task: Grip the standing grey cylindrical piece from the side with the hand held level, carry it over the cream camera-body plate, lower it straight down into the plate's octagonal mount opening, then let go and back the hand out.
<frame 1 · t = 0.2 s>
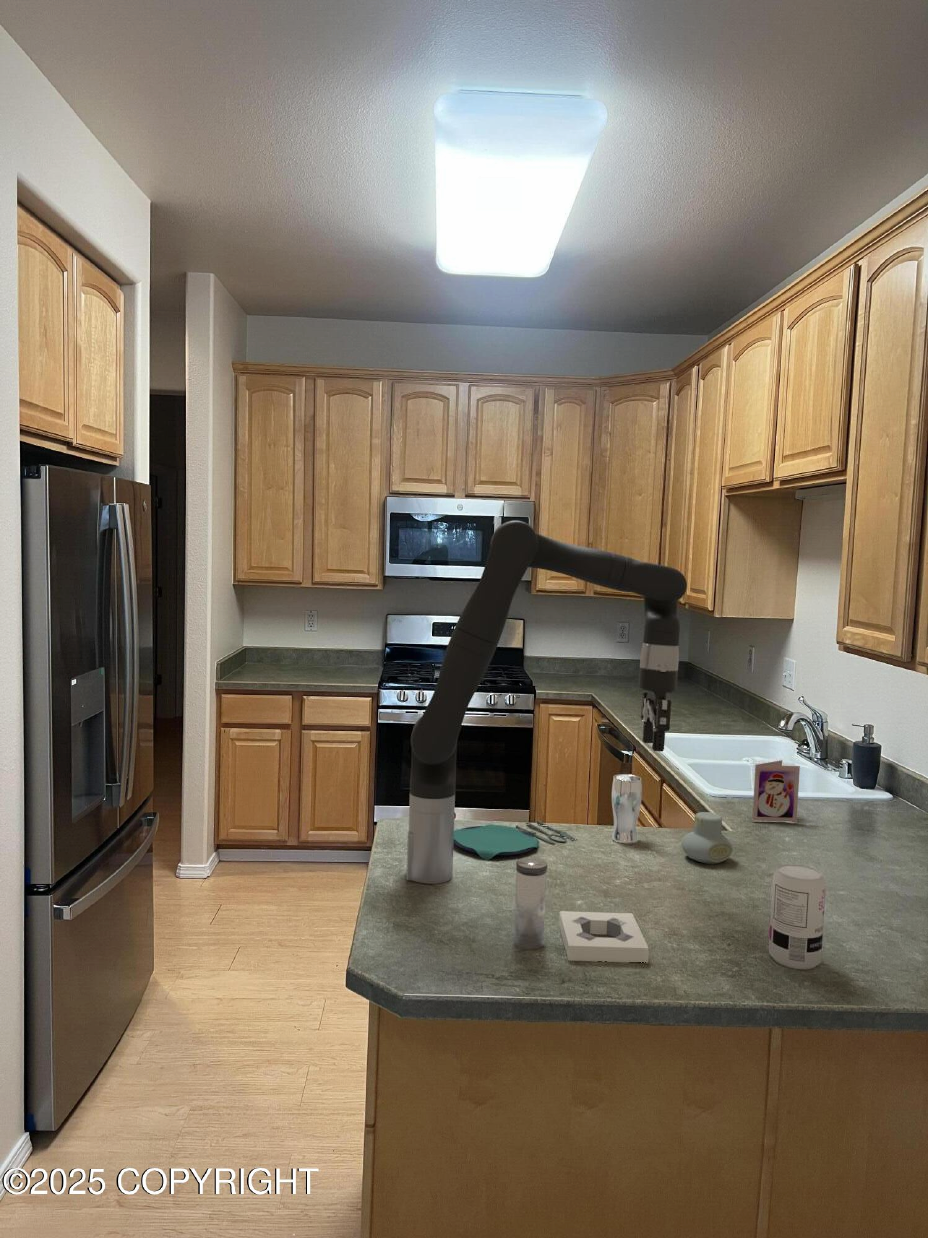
hand: (652, 746, 174), 28 cm above the counter, tool pointing down, fingers open, 8 cm apart
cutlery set: (511, 844, 201), on the counter
grey cylindrical piece: (528, 943, 147), on the counter
air freshener: (706, 860, 193), on the counter
beer glass: (624, 840, 205), on the counter
mount plate: (601, 943, 148), on the counter
supplement can: (794, 961, 144), on the counter
greeting card: (770, 820, 226), on the counter
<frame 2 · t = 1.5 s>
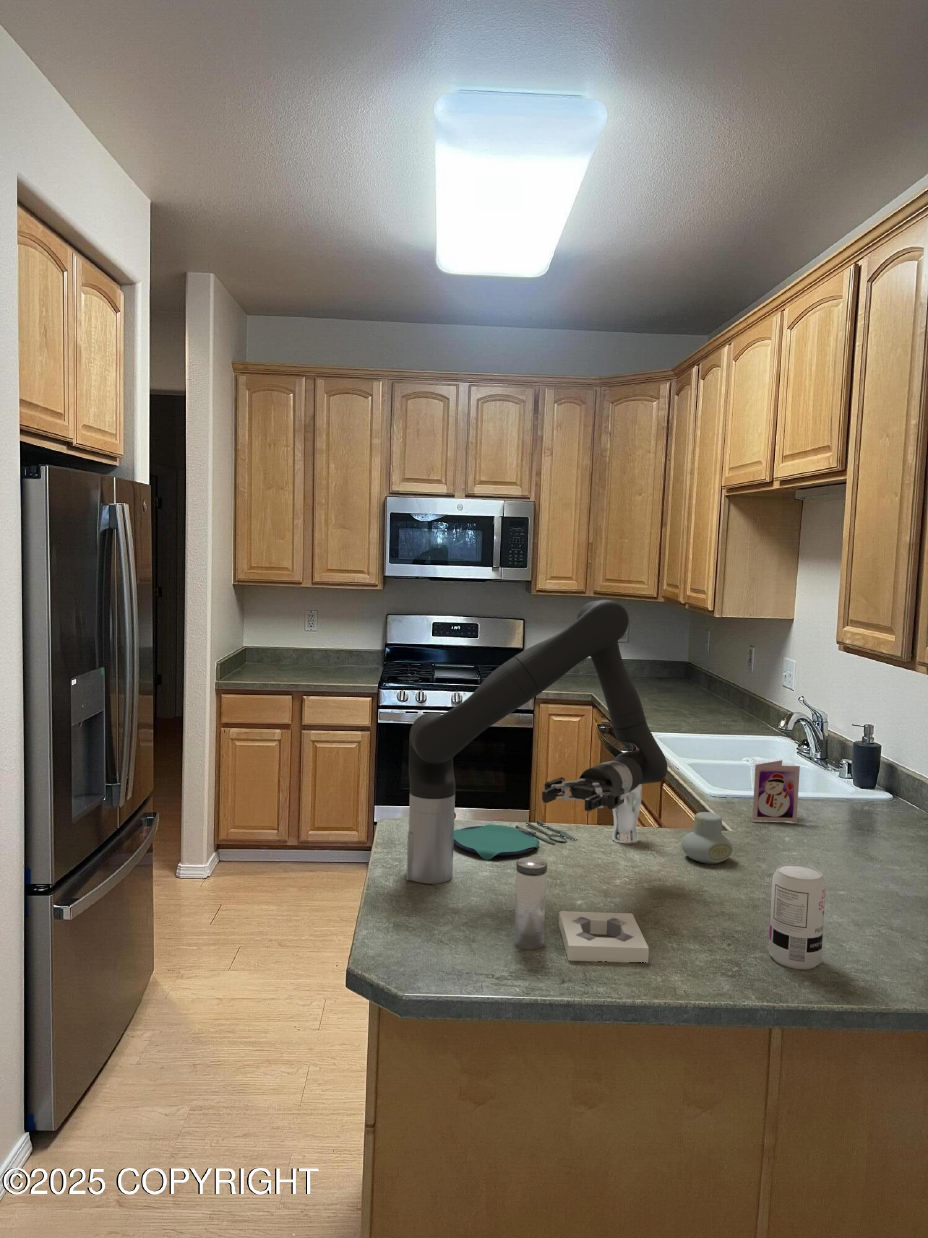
hand: (565, 801, 154), 22 cm above the counter, tool horizontal, fingers open, 8 cm apart
nothing on the counter moved.
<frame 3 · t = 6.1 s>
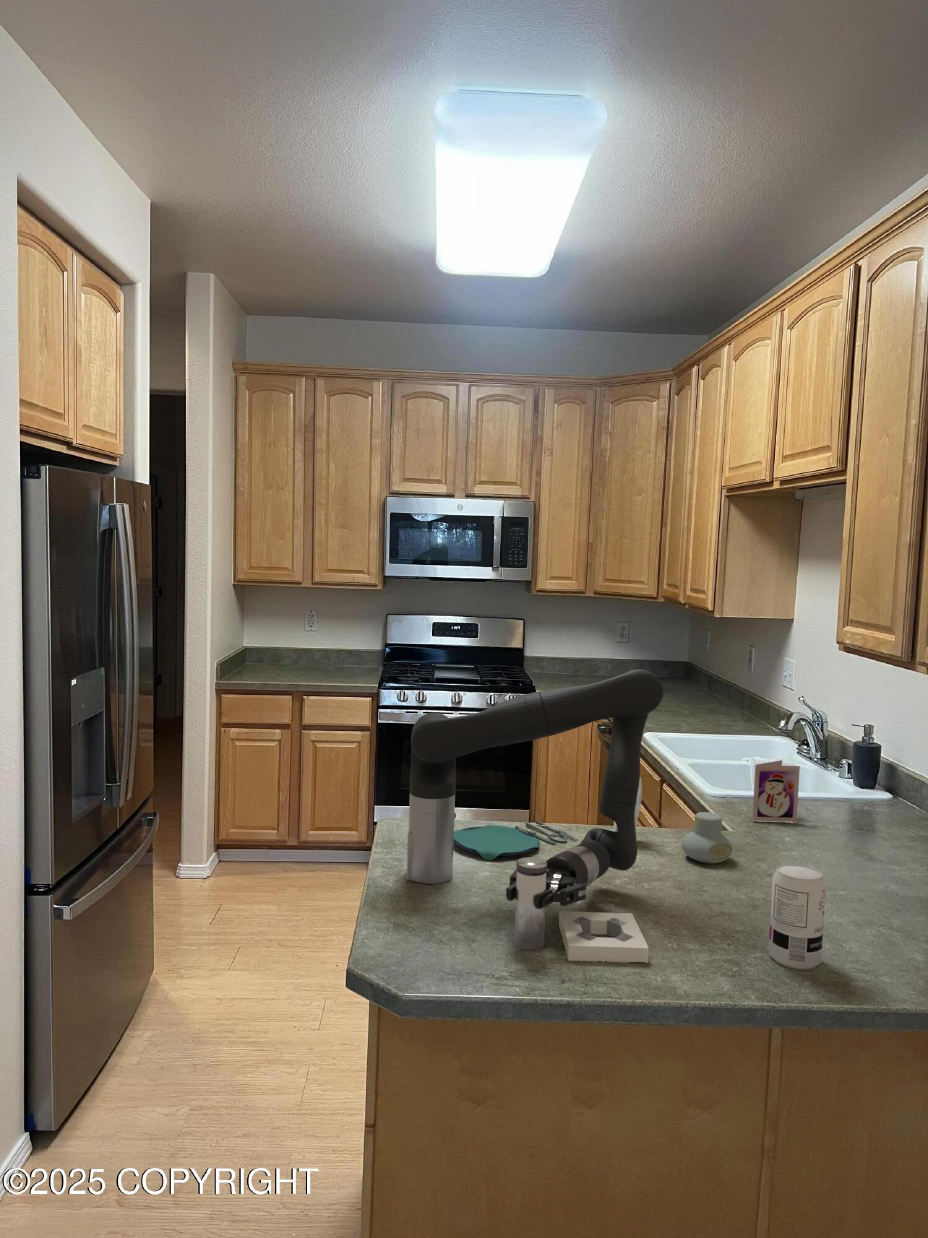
hand: (522, 899, 144), 9 cm above the counter, tool horizontal, fingers closed on grey cylindrical piece, 5 cm apart
grey cylindrical piece: (528, 943, 147), on the counter, touching gripper
everything else where it was.
when the fingers open (10 cm above the counter, at t = 11.6 s): grey cylindrical piece drops 1 cm, resting in mount plate.
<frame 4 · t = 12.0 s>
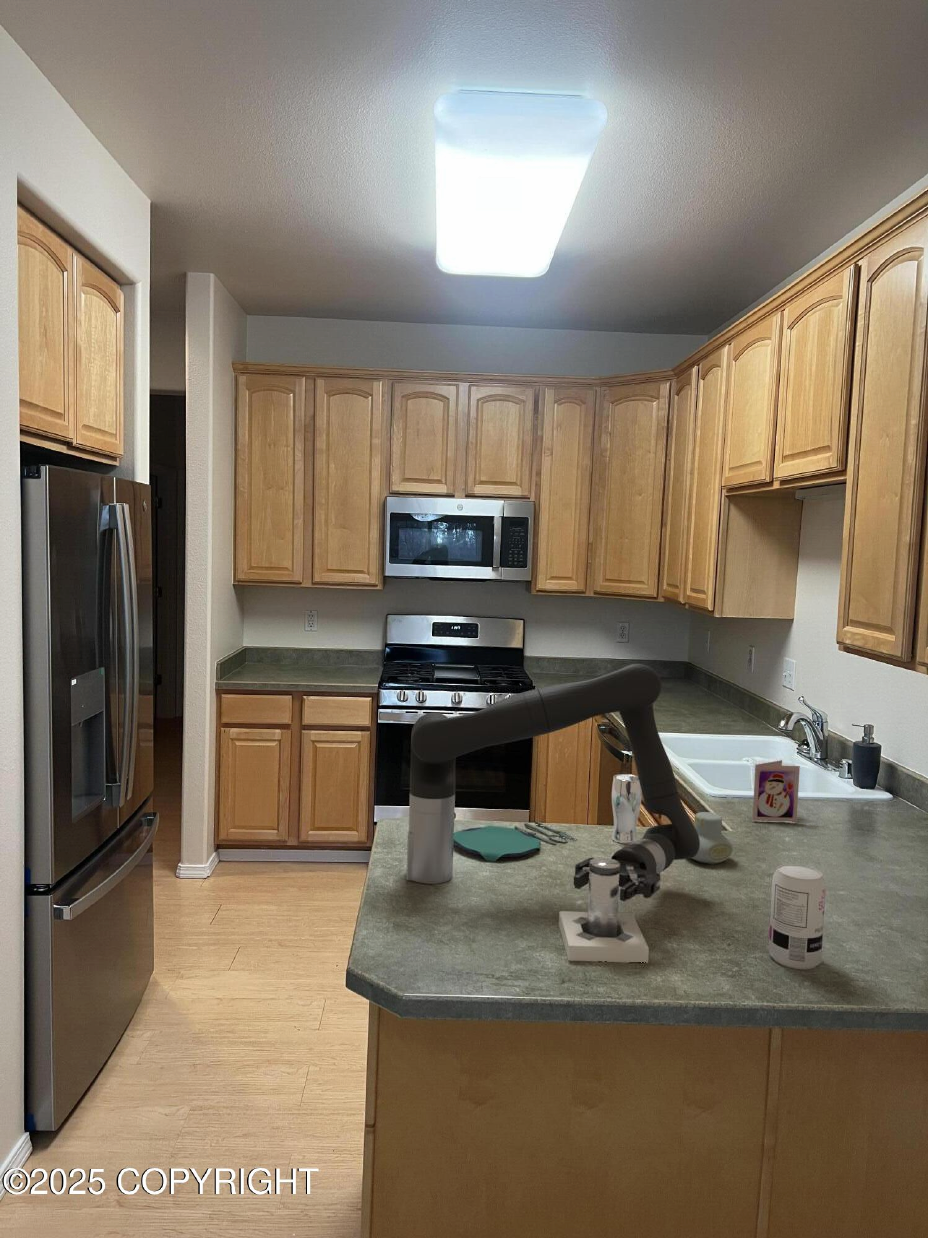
hand: (598, 889, 145), 10 cm above the counter, tool horizontal, fingers open, 8 cm apart
grey cylindrical piece: (601, 943, 148), resting in mount plate
everything else where it was.
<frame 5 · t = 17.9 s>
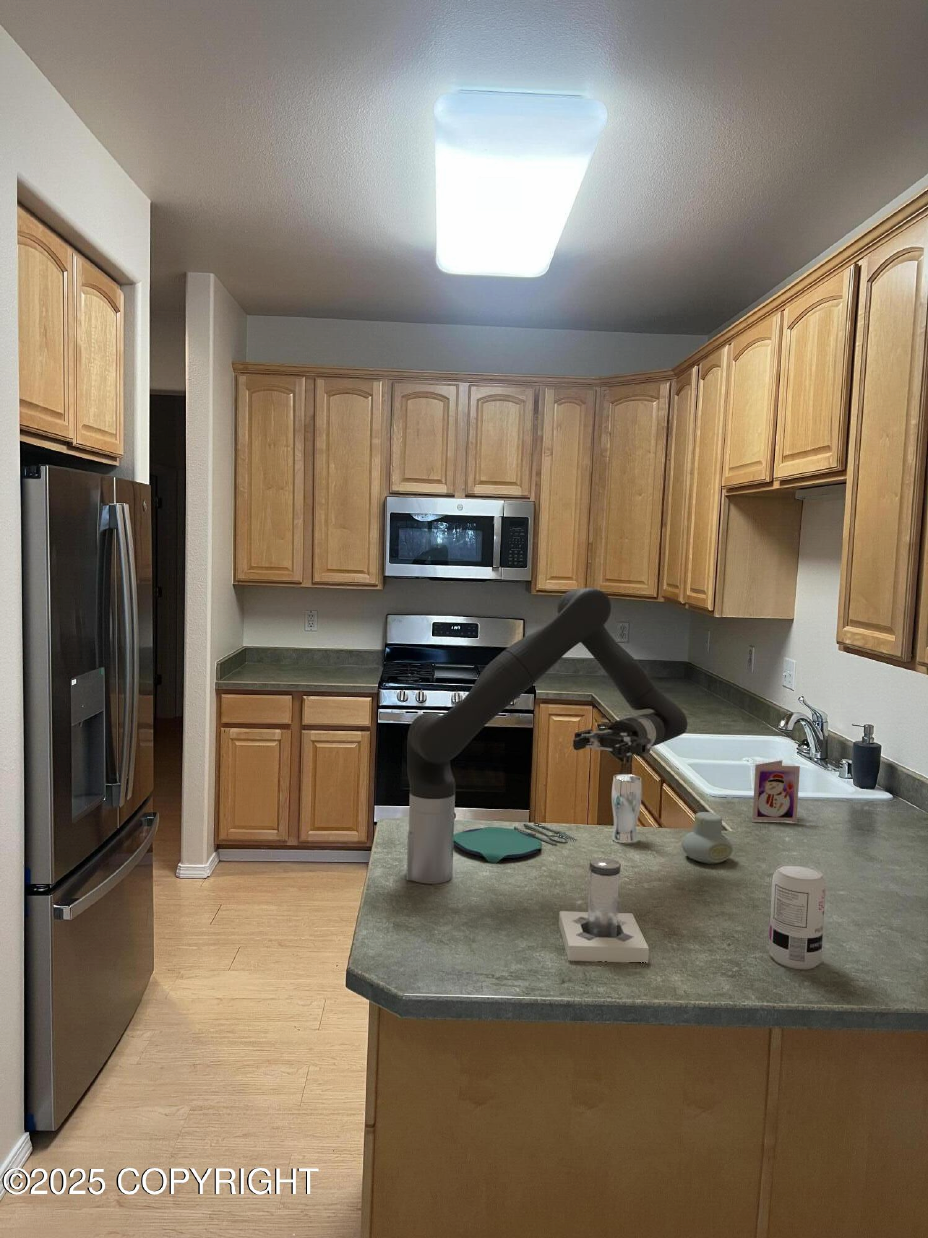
hand: (595, 748, 163), 30 cm above the counter, tool horizontal, fingers open, 8 cm apart
at the end: grey cylindrical piece 0.1 cm off-centre on the mount plate, point 0.0 cm above the mount plate's base; grey cylindrical piece tilted 0°; the gripper is holding nothing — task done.
